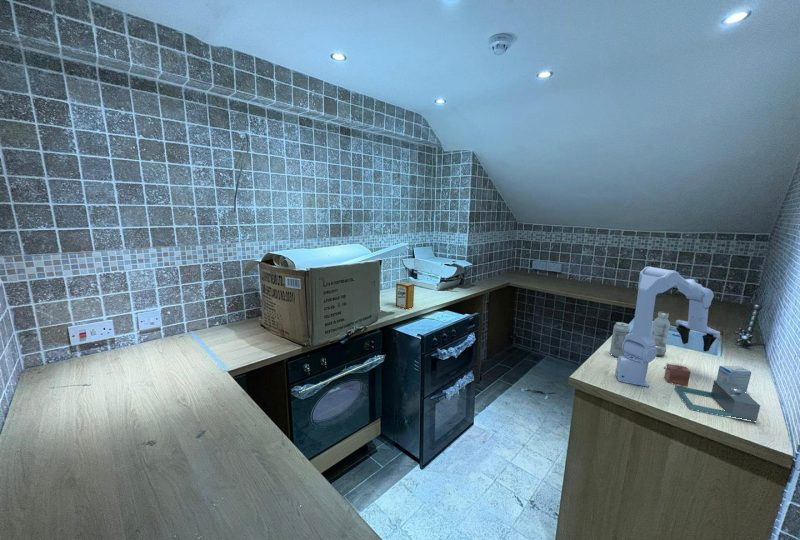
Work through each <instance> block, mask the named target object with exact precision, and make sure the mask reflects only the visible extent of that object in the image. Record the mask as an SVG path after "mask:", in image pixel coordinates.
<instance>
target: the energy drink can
mask: <svg viewBox="0 0 800 540" xmlns="http://www.w3.org/2000/svg"><path fill="white" fill-rule="evenodd" d="M612 329H613V330H612V336H611V343H610V348H609V353H610V355H611V354H612V355H613V356H612V355H611V356H612V357H614V356H615V358H618V357H619V356H625V355H624V352H623V351H622V343H623V341H624V339H625V336H626V335H627V334H630V332H631V331H630V330H631V328H630V324H628V323H626V322H622V321H617V322H615V323H614V325H613V328H612Z"/></svg>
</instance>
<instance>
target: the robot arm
mask: <svg viewBox="0 0 800 540" xmlns="http://www.w3.org/2000/svg"><path fill="white" fill-rule="evenodd" d="M637 285H638V287H637V288H638V290H637V298H636V305H635V306H636V307H635V313H634V319H633V321H634V322H633V328H632V332H631V333H630V332H629V334H627V335H626V336H625V339H624V341H623V343H622V351H623V352H624V355H625V356H619V357H617V360H616V368H615V372H614V373H615V375H616V377H617V379H618V381H619V382H622V383H627V384H632V385H637V386H642V387H647V388H648V387H649V386H650V385H649V383H648V382H647V380H646V379H647V375H648V374H647V373H648V368H649V363H652V362H653V361H654V360H656V357H657V356H658V355H657V351H656V343H655V341H654V340H653V339H652V335H651V333H652V327H653V318H654V311H655V310H654V309H655V305H656V304H655V302H656V297H657V295H658V294H663V293H665V292H666V291H669V290H670V289H671V288H673V287H677V290H678V292H680V293H682V294H683V295H685V298H686V299H687V300H688V301H689V302H688V303H689V304H688V317H687V320H682V319H677V320H675V325H676V326H677V327H676V331H677V332H678V334H679V336H680V339H681V344H683V345H686V344H688V343H689V338H690V337H689V336H690V332H691V330H692V331H696V332H700V333H703V334H704V335H702V341H703V347H702V349H703V352H709V351H710V349H711V346H712V345H713V344H714V342H716V341H717V339H718V338H719V337H721V331H718V330H716V329H714V328H711V327H709V326H708V318H709V317H708V316H709V308H710V307H711V305H712V300H713V298H714V297H715V294H714V291H712V289H710V288H709V287H708V288H707V287H704V286H703V285H702V284H701V283H697V282H696V280H695V279H694V278H684V277H682V275H680V272H678V271H676V270H672V269H664V268H660V267H654V266H645V267H644V268H643V269H642V270H641V271H640V272H639V277H638V284H637Z"/></svg>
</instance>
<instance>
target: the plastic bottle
mask: <svg viewBox="0 0 800 540" xmlns="http://www.w3.org/2000/svg"><path fill="white" fill-rule="evenodd" d="M669 314H670V313H669V312H666V311H658V314H657V316H658V317H656V318H655V319H654V320H652V335H651V338H652V339H653V340H654V341H655V343H656V351H657V355H656V356H658V357H659V356H660V357H661V356H665V355H666V352H667V338H668V334H669V332H670V328H671V326H672V325H671V322H670V321H669V319H668V318H669Z"/></svg>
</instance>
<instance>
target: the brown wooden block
mask: <svg viewBox="0 0 800 540" xmlns="http://www.w3.org/2000/svg"><path fill="white" fill-rule="evenodd" d="M663 370H665V372H664V377H663V378H664V379H665V381H666V380H667V381H666V382H667V383H668V384H672V383H673V384H672V385H676V386H682V387H689V381H690V377H691V373H692V371H691V370H690V369H689V368H688V367H687V366H684V365H683V366H682V365H677V364H673V363H666V366H663Z"/></svg>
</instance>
